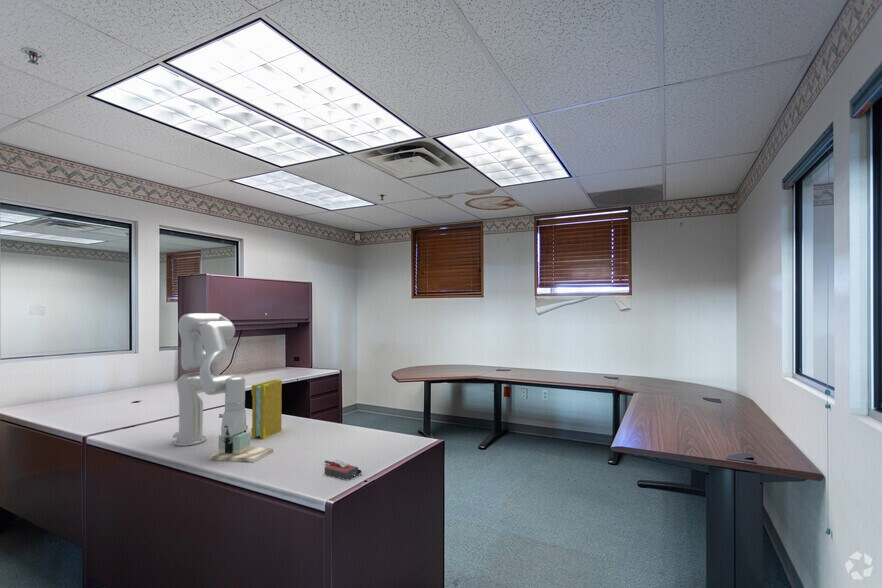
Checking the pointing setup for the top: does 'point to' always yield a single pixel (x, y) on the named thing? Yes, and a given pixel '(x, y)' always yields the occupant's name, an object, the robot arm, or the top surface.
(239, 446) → the block
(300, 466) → the top surface
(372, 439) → the top surface
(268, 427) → the book
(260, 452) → the board
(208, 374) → the robot arm
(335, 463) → the walkie-talkie
